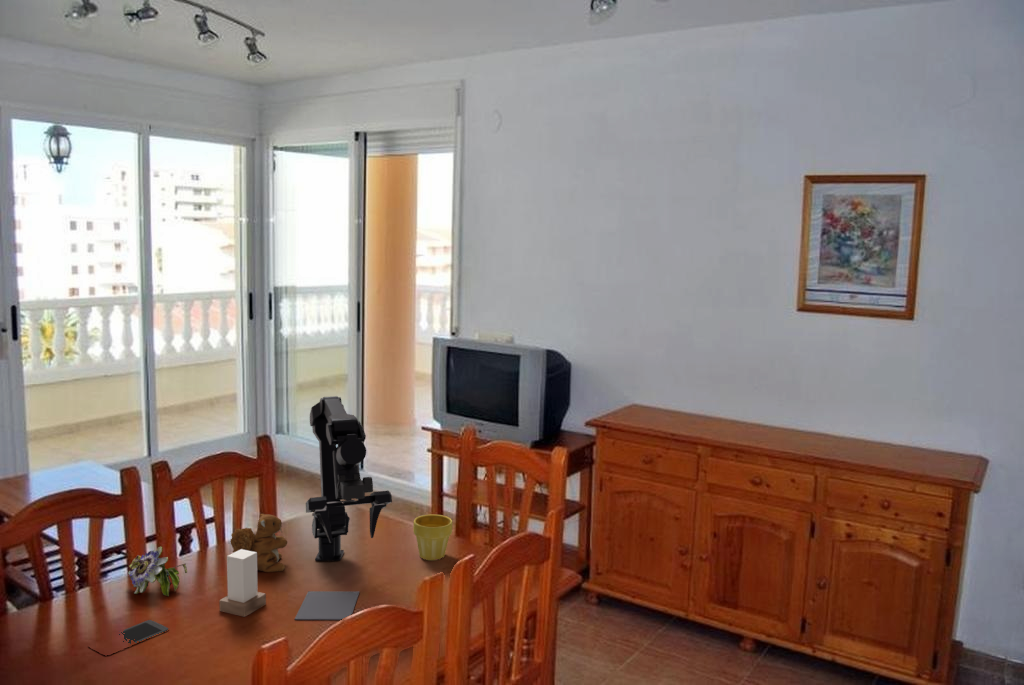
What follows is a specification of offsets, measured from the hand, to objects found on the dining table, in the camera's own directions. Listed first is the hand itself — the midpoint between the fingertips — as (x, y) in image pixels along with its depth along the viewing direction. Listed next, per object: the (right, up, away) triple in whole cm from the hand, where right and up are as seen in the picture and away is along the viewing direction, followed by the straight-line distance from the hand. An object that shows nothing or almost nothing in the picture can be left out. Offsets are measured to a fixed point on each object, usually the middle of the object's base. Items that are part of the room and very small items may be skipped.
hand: (351, 540), depth 178 cm
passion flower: (-48, -14, +9) cm, 51 cm away
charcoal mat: (-6, -15, +2) cm, 17 cm away
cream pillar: (-24, -13, 0) cm, 28 cm away
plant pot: (+15, -13, +33) cm, 38 cm away
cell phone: (-43, -17, -15) cm, 49 cm away
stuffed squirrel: (-28, -13, +24) cm, 39 cm away
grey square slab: (-25, -15, 0) cm, 29 cm away
